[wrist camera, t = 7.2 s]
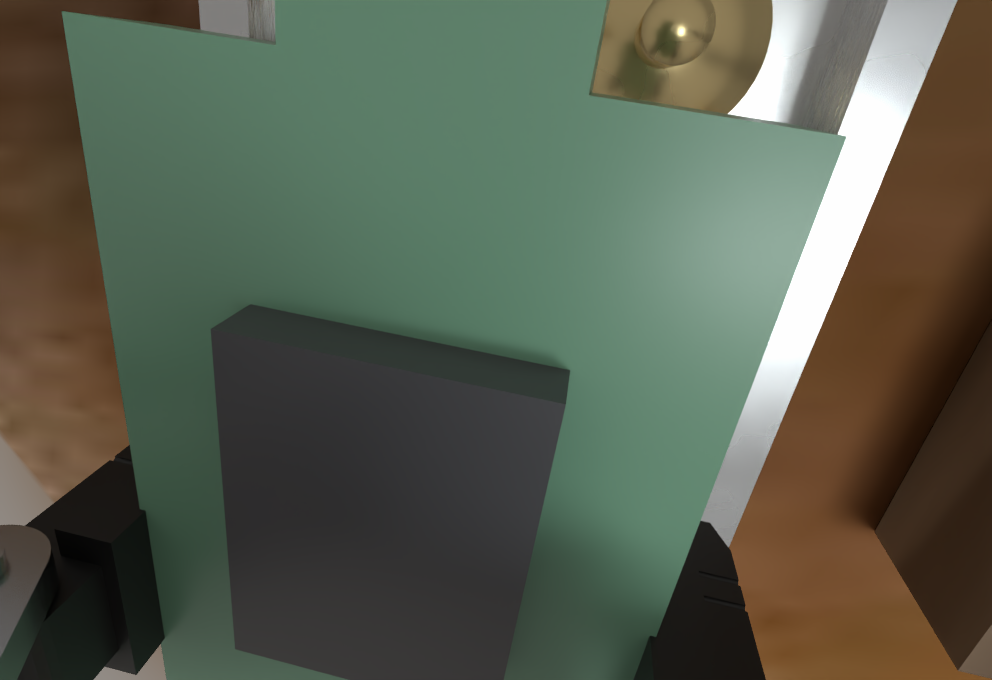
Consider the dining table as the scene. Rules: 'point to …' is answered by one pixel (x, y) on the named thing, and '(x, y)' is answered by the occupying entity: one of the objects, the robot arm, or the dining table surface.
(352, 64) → the board
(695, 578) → the robot arm
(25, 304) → the dining table surface
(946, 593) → the rectangular block
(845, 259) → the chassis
